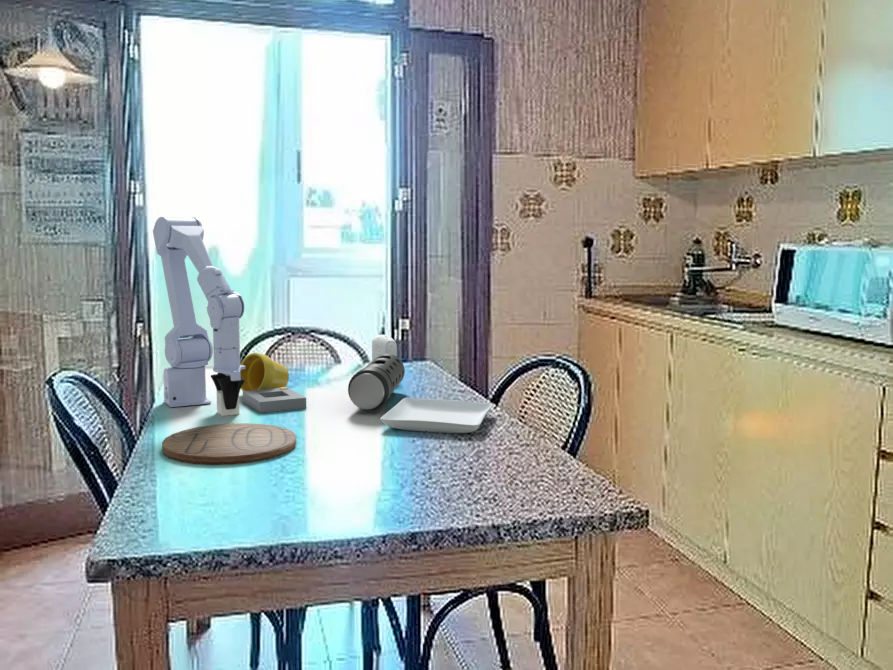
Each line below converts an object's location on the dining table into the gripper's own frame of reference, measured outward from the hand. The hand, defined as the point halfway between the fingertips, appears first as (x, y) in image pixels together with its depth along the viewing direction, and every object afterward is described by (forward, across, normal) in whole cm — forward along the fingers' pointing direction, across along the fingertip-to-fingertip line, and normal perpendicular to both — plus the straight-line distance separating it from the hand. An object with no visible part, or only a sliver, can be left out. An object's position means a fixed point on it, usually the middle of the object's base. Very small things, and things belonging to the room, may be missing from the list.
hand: (228, 407), depth 187 cm
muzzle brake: (+2, -5, -35) cm, 35 cm away
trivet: (+2, -28, +7) cm, 29 cm away
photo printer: (+2, +23, -50) cm, 55 cm away
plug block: (+1, 0, 0) cm, 1 cm away
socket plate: (+1, +4, -12) cm, 13 cm away
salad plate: (+2, -30, -38) cm, 48 cm away
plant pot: (-2, +19, -19) cm, 27 cm away
